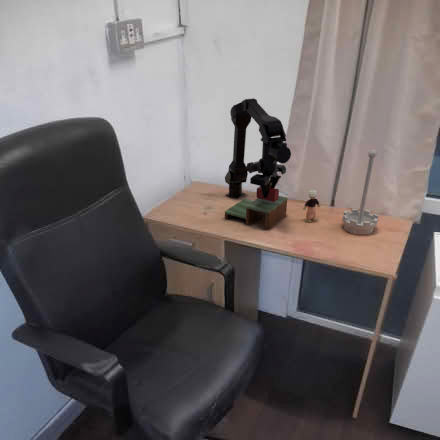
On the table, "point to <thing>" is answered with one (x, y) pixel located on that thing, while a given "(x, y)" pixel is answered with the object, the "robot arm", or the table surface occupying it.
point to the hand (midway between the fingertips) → (267, 196)
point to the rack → (259, 210)
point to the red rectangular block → (271, 196)
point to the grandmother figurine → (311, 206)
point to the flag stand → (362, 209)
